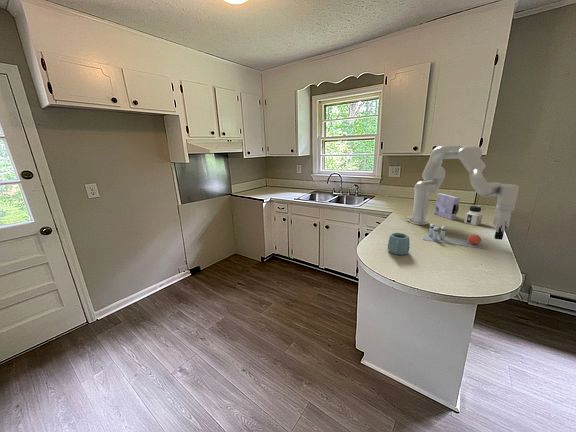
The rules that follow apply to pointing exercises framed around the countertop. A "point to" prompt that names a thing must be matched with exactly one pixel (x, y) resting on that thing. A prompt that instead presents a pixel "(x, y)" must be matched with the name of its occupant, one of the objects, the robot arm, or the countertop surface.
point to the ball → (474, 239)
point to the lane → (453, 241)
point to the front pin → (442, 232)
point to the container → (474, 215)
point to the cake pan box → (446, 206)
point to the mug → (398, 244)
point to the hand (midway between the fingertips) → (498, 238)
